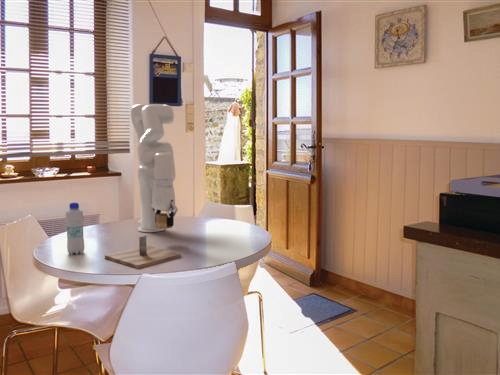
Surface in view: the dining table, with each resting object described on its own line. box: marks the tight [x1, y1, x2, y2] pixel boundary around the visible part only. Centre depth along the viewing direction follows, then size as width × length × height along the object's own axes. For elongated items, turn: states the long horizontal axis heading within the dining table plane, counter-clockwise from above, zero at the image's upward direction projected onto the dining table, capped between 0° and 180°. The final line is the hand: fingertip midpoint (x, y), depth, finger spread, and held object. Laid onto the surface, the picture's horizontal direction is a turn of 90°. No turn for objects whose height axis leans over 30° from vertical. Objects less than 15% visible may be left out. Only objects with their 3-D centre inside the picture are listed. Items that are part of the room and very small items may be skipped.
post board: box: [104, 235, 182, 270], centre depth 181 cm, size 20×20×8 cm
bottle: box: [64, 202, 85, 256], centre depth 186 cm, size 7×7×20 cm
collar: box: [156, 212, 174, 230], centre depth 202 cm, size 7×7×5 cm
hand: (164, 224), depth 202 cm, fingers closed on collar, 6 cm apart
